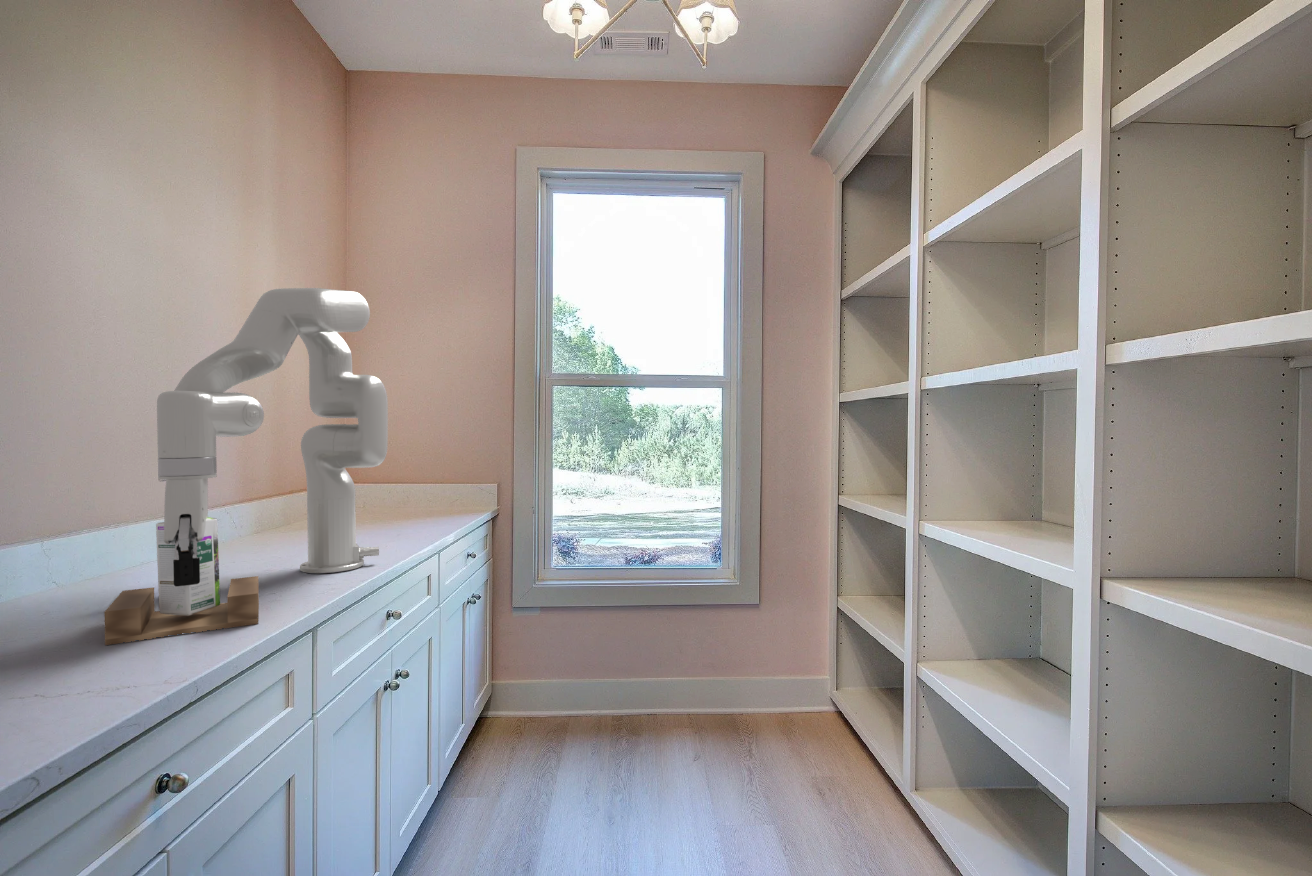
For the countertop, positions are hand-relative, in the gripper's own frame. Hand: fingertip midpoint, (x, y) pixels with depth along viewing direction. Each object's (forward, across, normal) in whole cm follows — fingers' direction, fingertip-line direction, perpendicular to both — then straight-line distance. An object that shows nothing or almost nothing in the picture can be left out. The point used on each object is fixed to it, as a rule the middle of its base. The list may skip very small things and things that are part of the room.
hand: (189, 578), depth 101 cm
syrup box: (+5, 0, 0) cm, 5 cm away
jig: (+7, 0, 0) cm, 7 cm away
